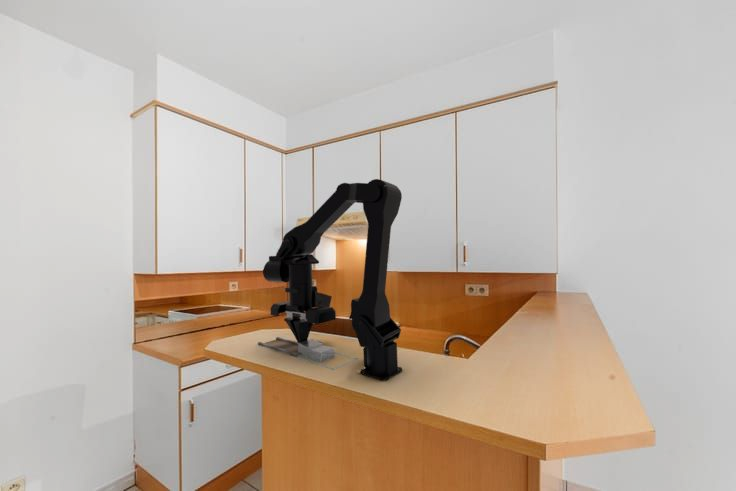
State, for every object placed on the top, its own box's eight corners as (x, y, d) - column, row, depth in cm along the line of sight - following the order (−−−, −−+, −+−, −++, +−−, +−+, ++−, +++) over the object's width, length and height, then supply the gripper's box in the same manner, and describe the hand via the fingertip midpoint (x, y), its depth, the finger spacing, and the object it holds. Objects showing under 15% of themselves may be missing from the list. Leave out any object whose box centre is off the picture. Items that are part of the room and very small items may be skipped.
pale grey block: (321, 355, 74) (322, 343, 73) (308, 360, 71) (309, 348, 70) (311, 350, 76) (311, 338, 76) (297, 354, 73) (298, 342, 73)
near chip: (334, 361, 71) (334, 347, 71) (321, 366, 68) (320, 352, 68) (322, 357, 73) (322, 344, 73) (309, 362, 70) (309, 349, 70)
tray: (358, 363, 69) (358, 358, 69) (333, 375, 63) (333, 369, 63) (320, 353, 78) (319, 348, 78) (295, 362, 72) (294, 357, 72)
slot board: (316, 354, 77) (315, 347, 77) (295, 361, 72) (295, 354, 72) (278, 343, 88) (277, 336, 88) (258, 349, 83) (257, 342, 83)
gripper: (350, 281, 75) (353, 344, 75) (303, 278, 88) (305, 333, 87) (315, 286, 67) (318, 358, 67) (268, 282, 79) (270, 343, 79)
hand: (302, 346), depth 75 cm, fingers closed
